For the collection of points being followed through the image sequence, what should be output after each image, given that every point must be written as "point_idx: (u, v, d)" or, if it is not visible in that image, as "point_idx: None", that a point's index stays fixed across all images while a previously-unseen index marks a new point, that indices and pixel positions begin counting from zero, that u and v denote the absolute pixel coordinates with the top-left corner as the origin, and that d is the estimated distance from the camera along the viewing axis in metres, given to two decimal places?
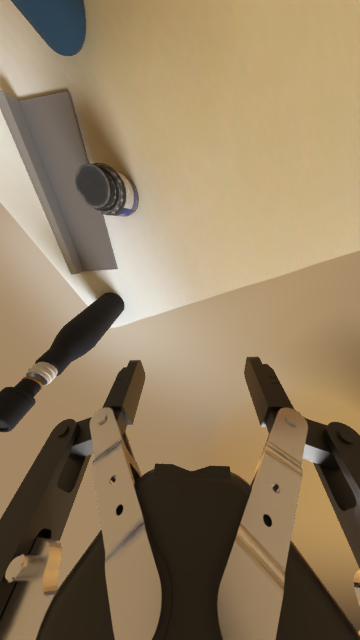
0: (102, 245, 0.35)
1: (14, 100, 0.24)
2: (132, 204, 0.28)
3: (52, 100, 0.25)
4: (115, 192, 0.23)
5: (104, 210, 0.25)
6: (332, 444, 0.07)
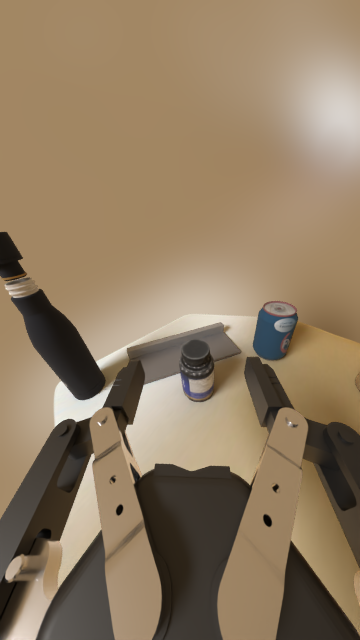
0: (154, 372, 0.36)
1: (222, 329, 0.45)
2: (194, 391, 0.28)
3: (232, 344, 0.41)
4: (197, 367, 0.26)
5: (181, 361, 0.27)
6: (332, 444, 0.07)
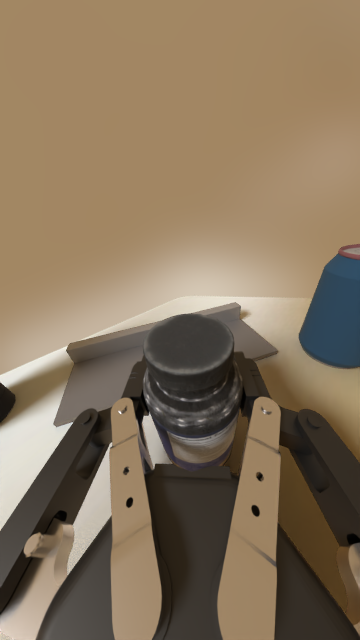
0: (108, 392, 0.18)
1: (238, 314, 0.27)
2: (186, 460, 0.10)
3: (258, 338, 0.23)
4: (195, 399, 0.08)
5: (149, 375, 0.09)
6: (303, 431, 0.07)
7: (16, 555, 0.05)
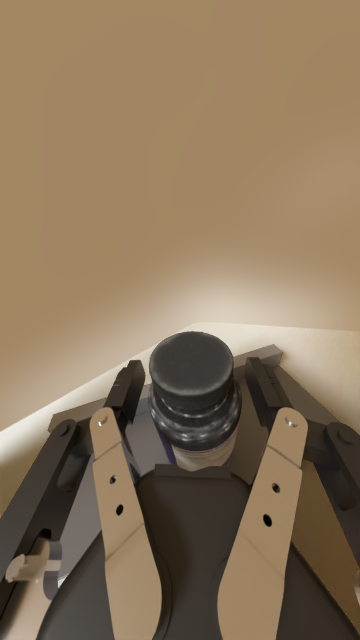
0: None
1: (277, 361, 0.20)
2: (189, 469, 0.11)
3: (316, 406, 0.16)
4: (197, 415, 0.08)
5: (154, 390, 0.10)
6: (332, 444, 0.07)
7: None
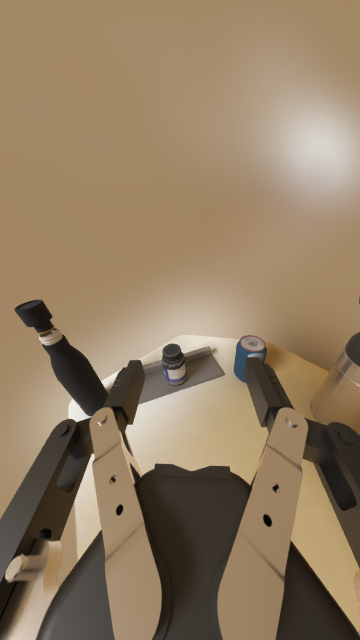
0: (150, 392, 0.43)
1: (210, 353, 0.52)
2: (172, 378, 0.42)
3: (217, 367, 0.48)
4: (172, 362, 0.40)
5: (163, 358, 0.42)
6: (332, 444, 0.07)
7: None
